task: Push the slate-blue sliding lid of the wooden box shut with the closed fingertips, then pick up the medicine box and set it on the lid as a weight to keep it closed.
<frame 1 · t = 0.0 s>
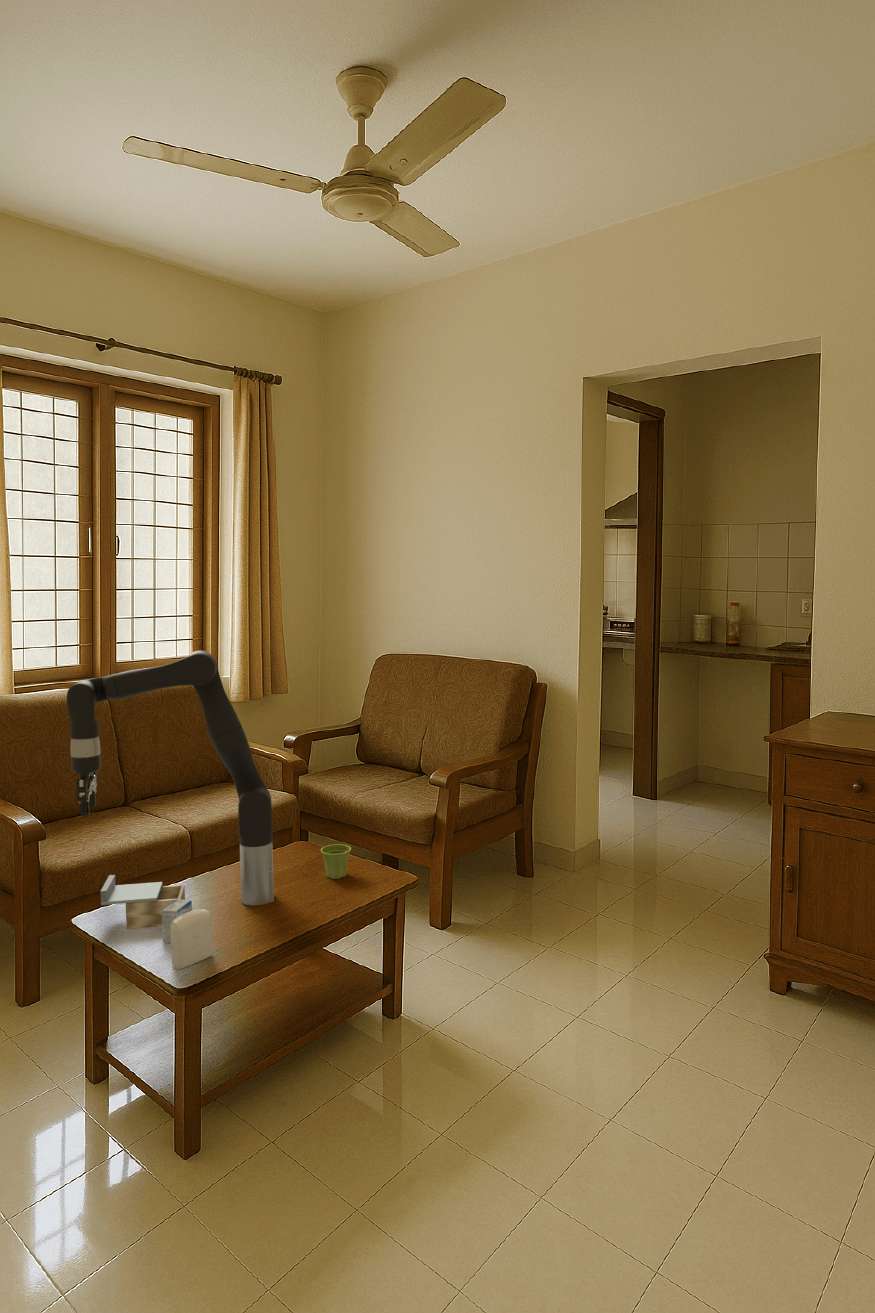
hand: (88, 811, 225), 29 cm above the table, fingers open, 8 cm apart
wooden box: (156, 918, 225), on the table
plant pot: (336, 876, 257), on the table
medicine box: (177, 938, 213), on the table
photo printer: (192, 962, 199), on the table
lid: (132, 887, 223), point 9 cm above the table, slide at 6.0 cm
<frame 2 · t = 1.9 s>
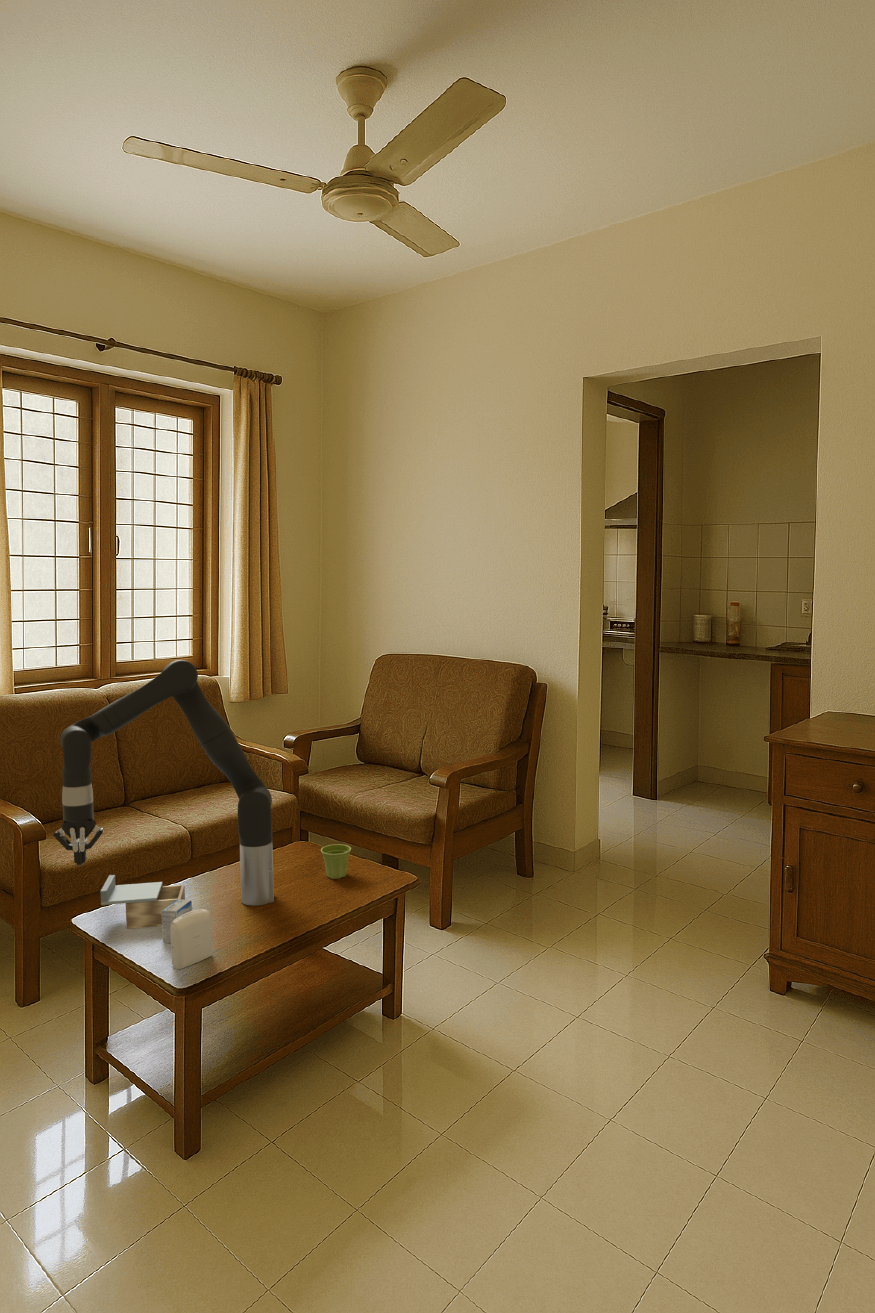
hand: (80, 864, 219), 17 cm above the table, fingers closed
nothing on the table moved.
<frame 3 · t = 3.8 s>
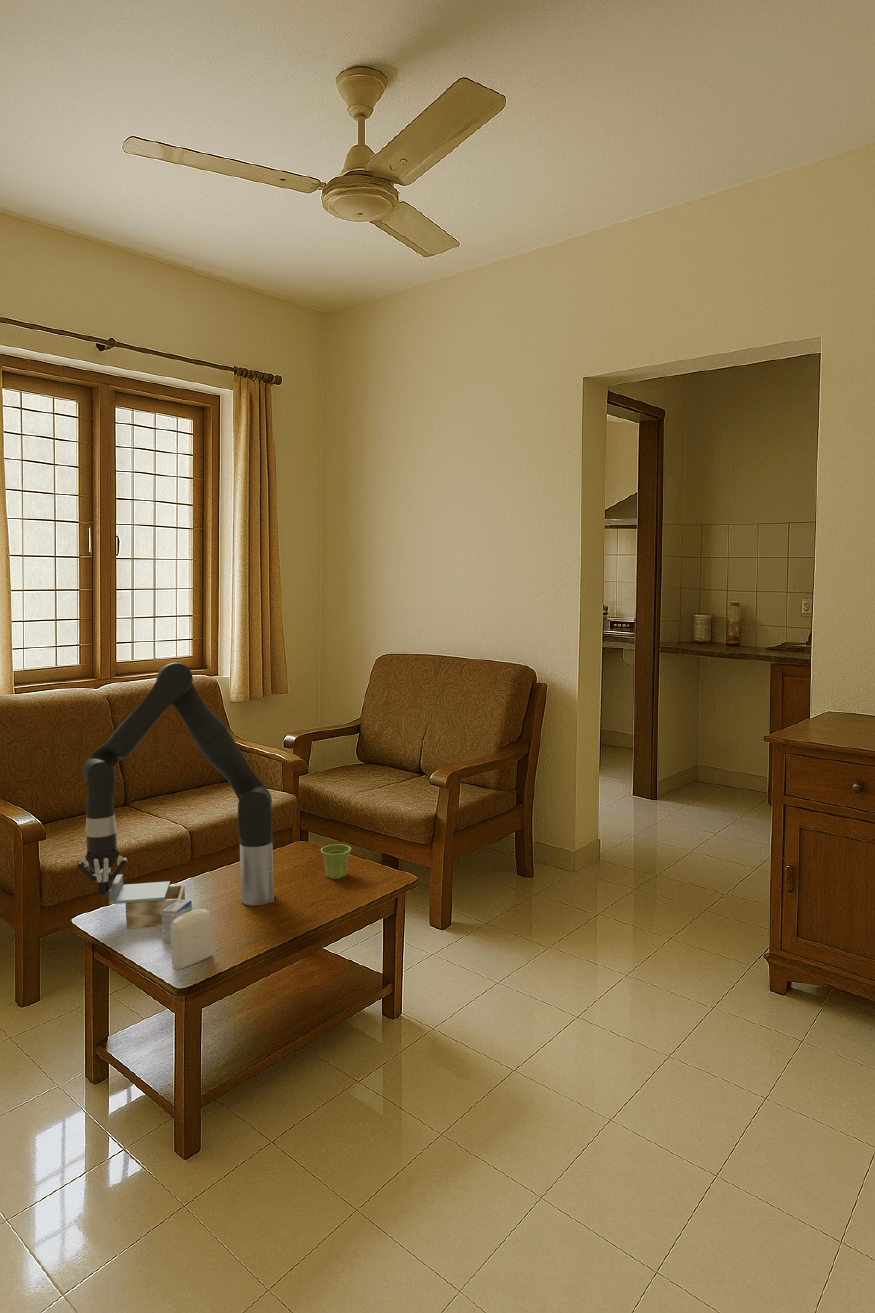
hand: (104, 894, 221), 8 cm above the table, fingers closed
lid: (140, 887, 223), point 9 cm above the table, slide at 4.0 cm, touching gripper
everything else where it was.
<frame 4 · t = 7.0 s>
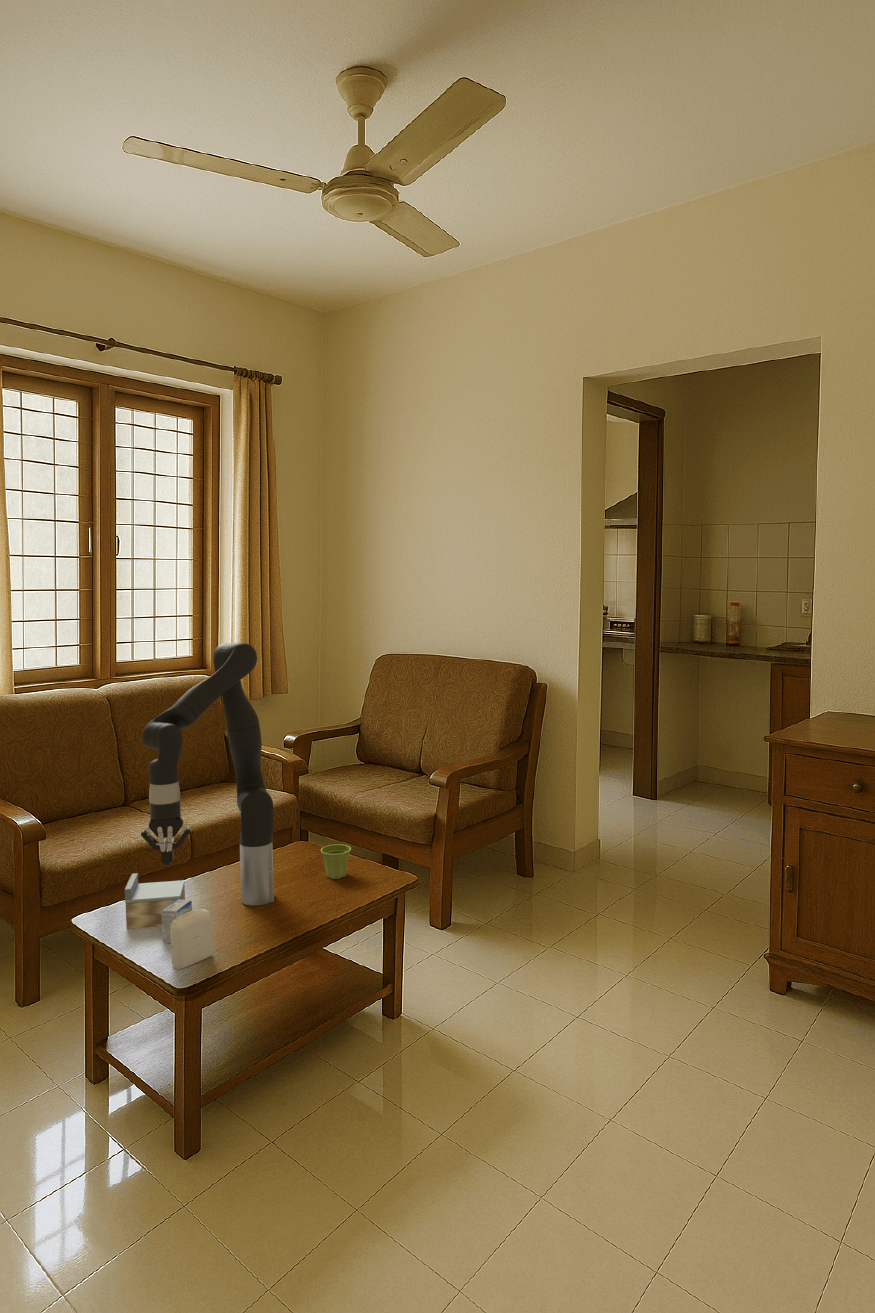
hand: (167, 864, 212), 19 cm above the table, fingers closed
lid: (155, 886, 224), point 9 cm above the table, slide at 0.0 cm
everything else where it was.
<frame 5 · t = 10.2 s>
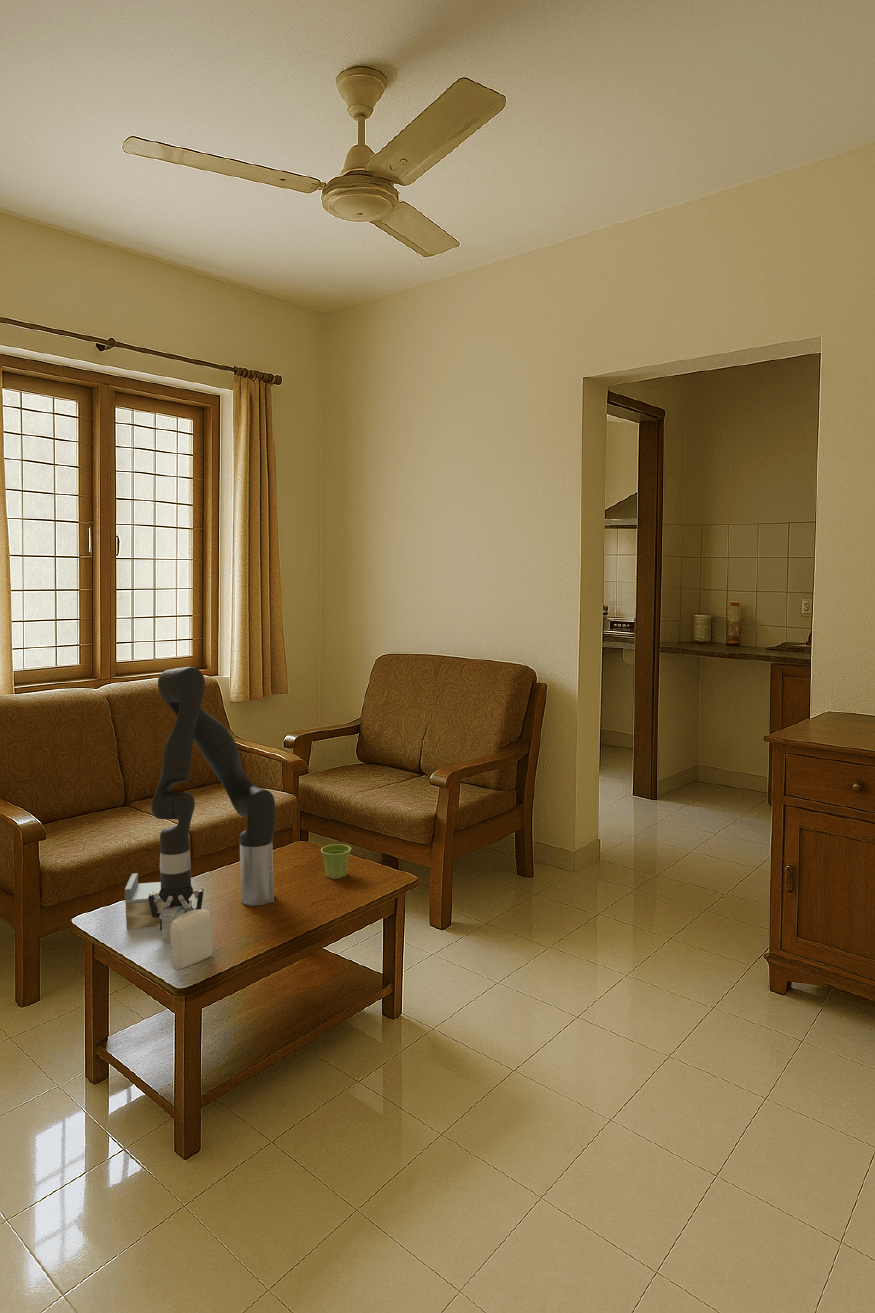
hand: (177, 930, 213), 2 cm above the table, fingers closed on medicine box, 5 cm apart
medicine box: (177, 937, 213), on the table, touching gripper
everything else where it was.
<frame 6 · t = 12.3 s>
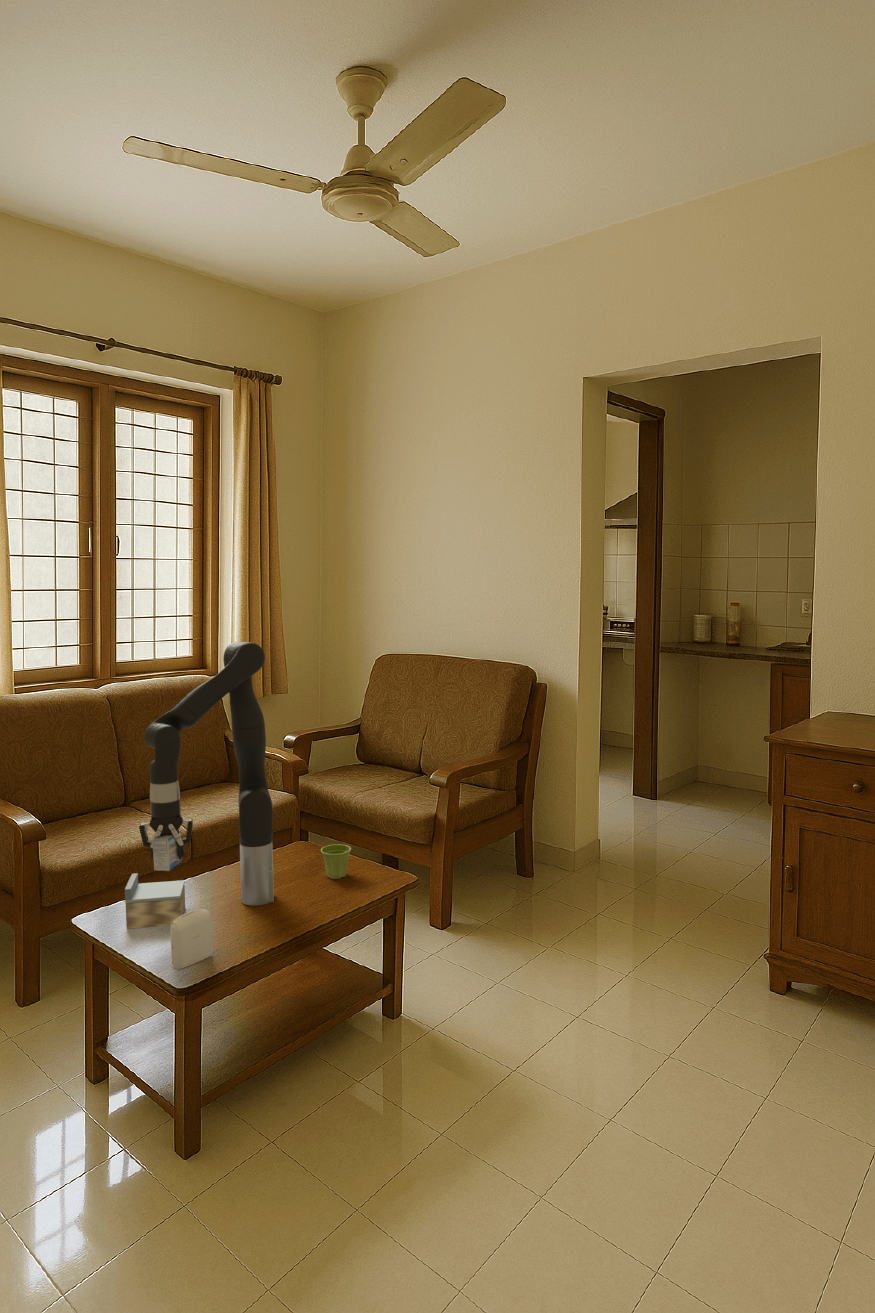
hand: (168, 859, 219), 18 cm above the table, fingers closed on medicine box, 5 cm apart
medicine box: (168, 866, 219), point 16 cm above the table, touching gripper
everything else where it was.
when the fingers open (10 cm above the table, at t = 14.6 s): medicine box stays where it is, resting on lid.
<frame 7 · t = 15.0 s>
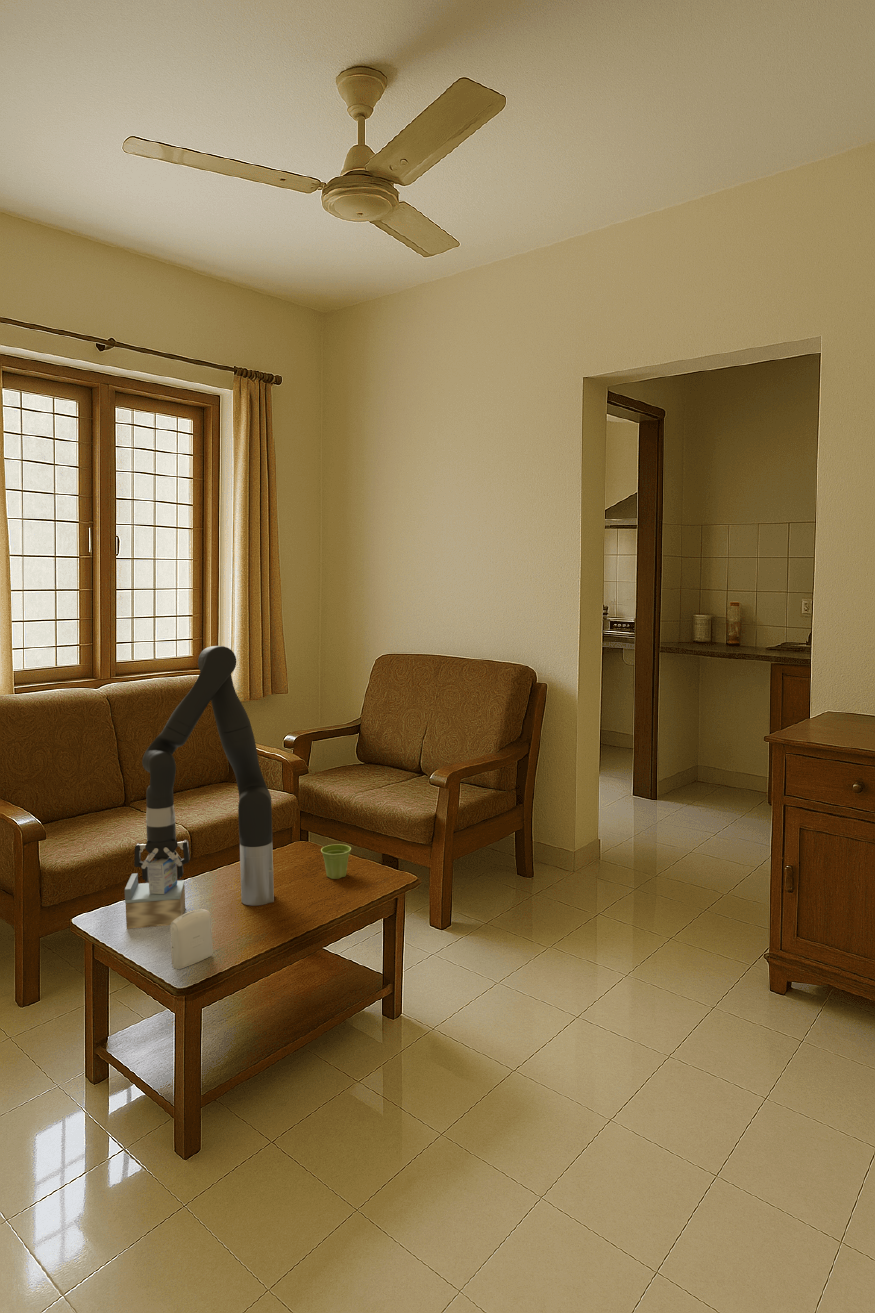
hand: (163, 879, 224), 11 cm above the table, fingers open, 8 cm apart
medicine box: (163, 890, 224), point 8 cm above the table, touching lid
lid: (155, 886, 224), point 9 cm above the table, slide at 0.0 cm, touching medicine box
everything else where it was.
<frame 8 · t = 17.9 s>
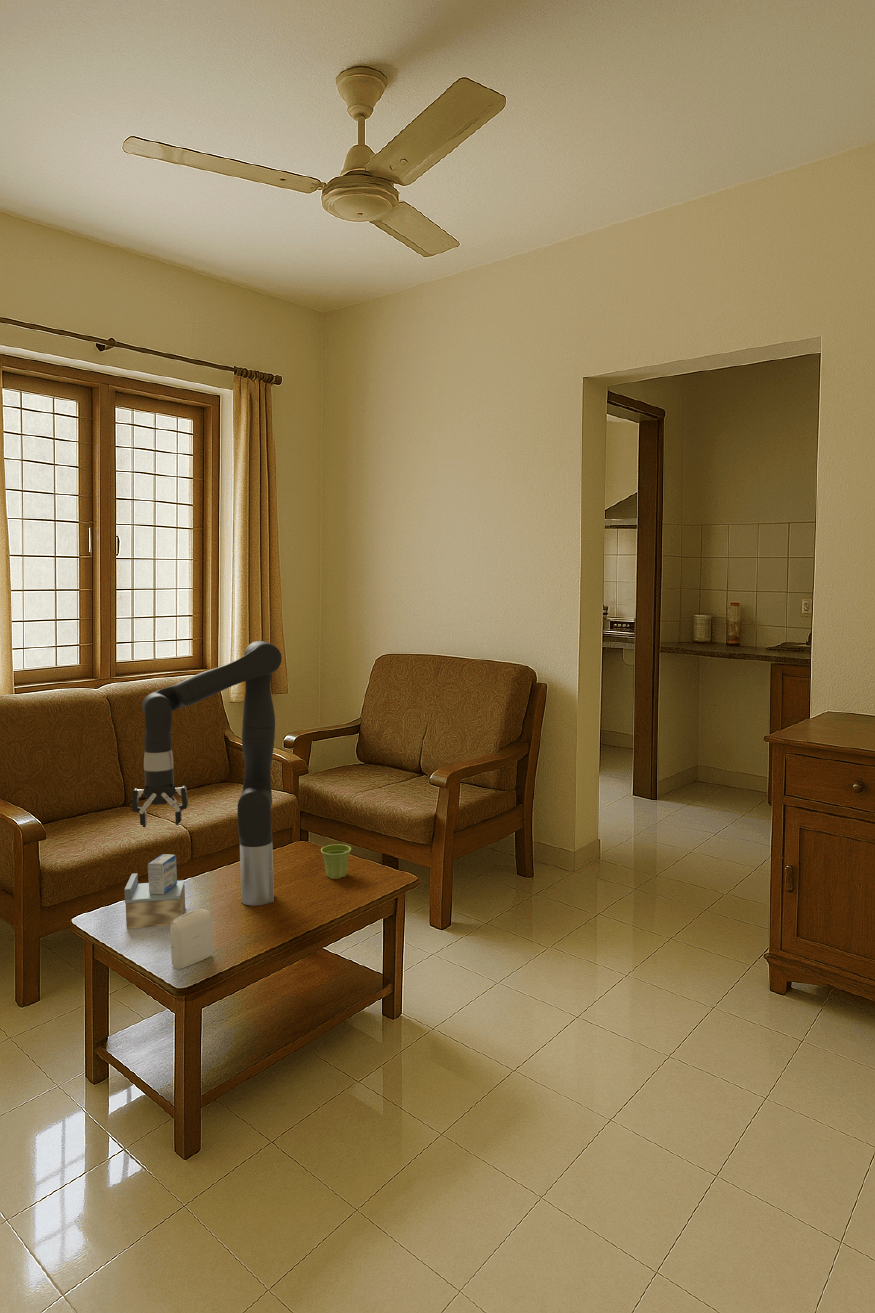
hand: (161, 825, 223), 26 cm above the table, fingers open, 8 cm apart
nothing on the table moved.
at the end: lid slide at 0.0 cm; medicine box inside the target area on the wooden box (1.0 cm from its centre), point 7.9 cm above the wooden box's base; medicine box tilted 0° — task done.
